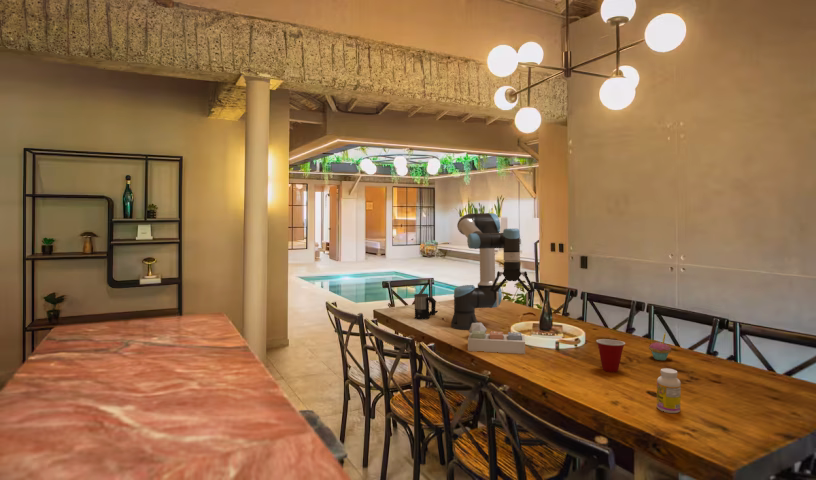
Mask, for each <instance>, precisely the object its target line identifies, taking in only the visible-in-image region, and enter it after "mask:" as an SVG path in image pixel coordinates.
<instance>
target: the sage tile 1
mask: <svg viewBox="0 0 816 480" xmlns="http://www.w3.org/2000/svg"><path fill="white" fill-rule="evenodd" d="M485 334H486V333H485V331H472V338H480V339H485Z"/></svg>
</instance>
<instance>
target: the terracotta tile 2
mask: <svg viewBox="0 0 816 480" xmlns="http://www.w3.org/2000/svg"><path fill="white" fill-rule="evenodd" d="M489 334H490V339H502V340H503V334H504V331H492V330H491V331H490V332H489Z"/></svg>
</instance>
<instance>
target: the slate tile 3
mask: <svg viewBox="0 0 816 480" xmlns="http://www.w3.org/2000/svg"><path fill="white" fill-rule="evenodd" d="M507 335H508V340H522V335H523V334H522V332H516V331H514V332H513V331H511V332H510V331H508V332H507Z"/></svg>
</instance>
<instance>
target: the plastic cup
mask: <svg viewBox="0 0 816 480" xmlns="http://www.w3.org/2000/svg"><path fill="white" fill-rule="evenodd" d="M595 342H596V343H597V347H598V351H599V357H600V362H601V368H602V370H603V371H604V372H608V373H618V371H619V369H620V363H621V359H622V355H623V354H622V353H623V350H624V346H625V345H626V342H625V341H621V340H619V339H618V340H616V339H608V338H607V339H606V338H602V339H596V341H595Z"/></svg>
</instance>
